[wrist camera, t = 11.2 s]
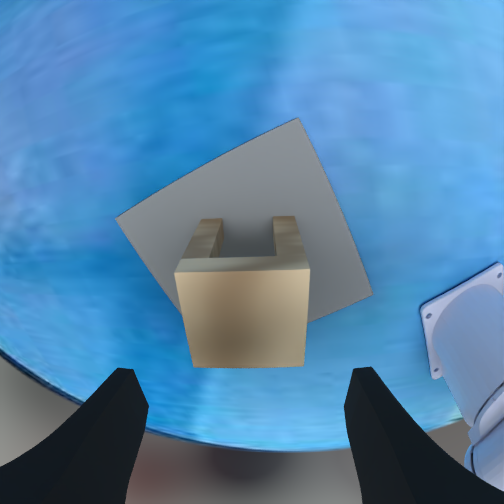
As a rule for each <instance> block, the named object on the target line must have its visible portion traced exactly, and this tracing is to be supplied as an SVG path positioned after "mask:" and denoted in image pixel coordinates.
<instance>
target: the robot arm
mask: <svg viewBox="0 0 504 504" xmlns="http://www.w3.org/2000/svg"><path fill="white" fill-rule="evenodd" d="M420 312H421V317H422V322H423V328H424V333H425V339H426V345H427V351H428V358H429V365H430V372H431V377H432V379H438V378H440V377H442V376H443V378H444V380H445V382H446V384H447V385H448V387H449V389H450V391H451V393H452V395H453V397H454V399H455V401H456V403H457V406H458V408H459V410H460V412H461V414H462V416H463V418H464V420H465V421H466V423H467V424H468V425H469V426H470V427H472V428H471V430H469V432H468V436H469V438H470V440H471V443H472V444H471V445H470V446H469V448H468V450H467V452H466V455H465V462H464V466H465V467H463V466H462V465H461V464H459V463H458V462H457V461H455V460H454V459H453V458H452V457H450V455H448V454H447V453H446V452H445V451H444V450H443V449H442V448H441V447H439V446H438V445H437V444H436V443H435V442H434V441H433V440H432V439H431V438H430V437H429V436H428V435H427V434H426V433H425V432H424V431H423V430H422V428H421V427H420V426H419V425H418V424H417V423H416V422H415V421H414V420H413V419H412V417H411V416H410V415H409V414H408V413H407V411H406V410H405V409H404V408H403V407H402V405H401V404H400V403H399V402H398V401H397V399H396V398H395V397H394V395H393V394H392V393H391V392H390V390H389V389H388V388H387V386H386V385H385V384H384V382H383V381H382V380H381V378H380V377H379V376H378V374H377V373H376V372H375V370H374V369H373V368H372V367H364V368H355V369H353V372H352V376H351V381H350V385H349V389H348V392H347V396H346V400H345V404H344V412H345V420H346V428H347V434H348V438H349V442H350V446H351V450H352V454H353V458H354V462H355V466H356V470H357V475H358V479H359V483H360V488H361V493H362V503H363V504H504V271H503V265H502V264H501V263H496V264H495V265H493V266H492V267H490V268H488V269H487V270H485V271H483V272H482V273H480V274H478V275H477V276H475V277H473V278H471V279H470V280H468V281H466V282H464V283H463V284H461V285H459V286H457V287H456V288H454V289H452V290H450V291H448V292H446V293H445V294H443V295H441V296H439V297H437V298H435V299H433V300H431V301H429V302H428V303H426V304H424V305H423V306H422V307H421V309H420ZM428 313H429V314H428ZM427 314H428V315H427ZM426 315H427V316H426ZM148 408H149V405H148V403H147V401H146V398H145V396H144V394H143V391H142V389H141V387H140V384H139V382H138V380H137V377H136V375H135V372H134V370H133V369H125V368H117V369H116V370H115V371H114V372H113V373H112V374H111V375H110V376H109V377H108V378H107V379H106V380H105V381H104V382H103V383H102V385H101V386H100V387H99V388H98V389H97V390H96V391H95V392H94V393H93V394H92V395H91V396H90V397H89V398H88V399H87V400H86V401H85V402H84V403H83V404H82V405H81V407H80V408H79V409H78V410H77V411H76V412H75V413H74V414H73V415H71V416H70V417H69V418H68V419H67V420H66V421H65V422H64V423H63V424H62V425H61V426H60V427H59V428H58V429H56V430H55V431H54V432H53V433H52V434H50V435H49V436H48V437H47V438H46V439H44V440H43V441H41V442H40V443H39V444H38V445H36V446H35V447H33V448H32V449H30V450H29V451H27V452H25V453H24V454H22V455H21V456H19V457H18V458H16V459H14V460H12V461H11V462H9V463H7V464H5V465H3V466H1V467H0V504H125V500H126V493H127V488H128V483H129V479H130V476H131V473H132V470H133V467H134V463H135V460H136V457H137V454H138V451H139V447H140V444H141V441H142V438H143V434H144V431H145V426H146V420H147V414H148Z"/></svg>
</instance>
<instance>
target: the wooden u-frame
mask: <svg viewBox="0 0 504 504" xmlns="http://www.w3.org/2000/svg"><path fill="white" fill-rule="evenodd" d="M223 240H224V232H223V220H222V218H215V219H201V221H200V222H199V224H198V226H197V228H196V230H195V232H194V234H193V236H192V238H191V240H190V242H189V244H188V246H187V248H186V250H185V252H184V254H183V256H182V258H181V260H180V262H179V264H178V266H177V268H176V270H175V272H174V275H175V280H176V286H177V291H178V296H179V301H180V306H181V311H182V316H183V321H184V326H185V331H186V335H187V340H188V344H189V349H190V353H191V358H192V362H193V366H194V367H201V368H275V367H299V366H304V356H305V344H306V330H307V316H308V300H309V282H310V267H309V264H308V260H307V257H306V253H305V250H304V246H303V243H302V240H301V236H300V233H299V229H298V226H297V223H296V220H295V216H273V240H274V251H275V256H265V257H230V258H219V254H220V251H221V247H222V244H223Z"/></svg>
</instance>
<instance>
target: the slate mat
mask: <svg viewBox="0 0 504 504" xmlns="http://www.w3.org/2000/svg"><path fill="white" fill-rule="evenodd" d="M273 216H295V220H296V223H297V226H298V229H299V233H300V236H301V240H302V243H303V246H304V250H305V253H306V257H307V260H308V264H309V267H310V282H309V300H308V316H307V323H309V322H312V321H314V320H316V319H319V318H321V317H324V316H326V315H328V314H331V313H333V312H335V311H338V310H340V309H342V308H345V307H347V306H349V305H352V304H354V303H356V302H358V301H361V300H363V299H365V298H367V297H369V296H372V295H373V292H372V289H371V286H370V283H369V280H368V278H367V275H366V272H365V269H364V267H363V264H362V261H361V258H360V256H359V253H358V251H357V248H356V245H355V243H354V240H353V238H352V235H351V233H350V230H349V228H348V225H347V223H346V220H345V218H344V215H343V213H342V210H341V208H340V206H339V203H338V201H337V199H336V196H335V194H334V192H333V189H332V187H331V185H330V183H329V180H328V178H327V176H326V174H325V171H324V169H323V167H322V165H321V163H320V161H319V158H318V156H317V154H316V152H315V150H314V148H313V146H312V144H311V142H310V140H309V137H308V135H307V133H306V131H305V129H304V127H303V125H302V123H301V121H300V119H299V118H296V119H293V120H291V121H289V122H287V123H285V124H283V125H281V126H278V127H276V128H274V129H272V130H270V131H268V132H266V133H264V134H262V135H260V136H258V137H256V138H254V139H252V140H250V141H248V142H246V143H244V144H242V145H240V146H238V147H236V148H234V149H232V150H230V151H228V152H227V153H225V154H223V155H221V156H219V157H217V158H215V159H213V160H212V161H210V162H208V163H206V164H204V165H202V166H201V167H199V168H197V169H195V170H194V171H192V172H190V173H188V174H186V175H185V176H183V177H181V178H180V179H178V180H176V181H174V182H173V183H171V184H169V185H168V186H166V187H164V188H163V189H161V190H159V191H158V192H156V193H154V194H153V195H151V196H149V197H148V198H146V199H145V200H143V201H141V202H140V203H138V204H137V205H135V206H133V207H132V208H130V209H129V210H127V211H126V212H124V213H122V214H121V215H119V216H118V217H117V218H115V219H116V221H117V223H118V224H119V226H120V227H121V229H122V230H123V232H124V233H125V235H126V237H127V238H128V240H129V241H130V243H131V244H132V246H133V247H134V249H135V250H136V252H137V253H138V255H139V256H140V257H141V259H142V260H143V262H144V263H145V265H146V266H147V268H148V269H149V271H150V272H151V273H152V275H153V276H154V278H155V279H156V280H157V282H158V283H159V285H160V286H161V287H162V289H163V290H164V292H165V293H166V294H167V296H168V297H169V298H170V300H171V301H172V303H173V304H174V305H175V307H176V308H177V309H178V311H179V312H180V313H181V315H182V311H181V306H180V301H179V296H178V291H177V286H176V280H175V275H174V272H175V270H176V268H177V266H178V264H179V262H180V260H181V258H182V256H183V254H184V252H185V250H186V248H187V246H188V244H189V242H190V240H191V238H192V236H193V234H194V232H195V230H196V228H197V226H198V224H199V222H200V221H201V219H215V218H222V220H223V232H224V240H223V244H222V247H221V251H220V254H219V258H230V257H265V256H275V251H274V240H273Z"/></svg>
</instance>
